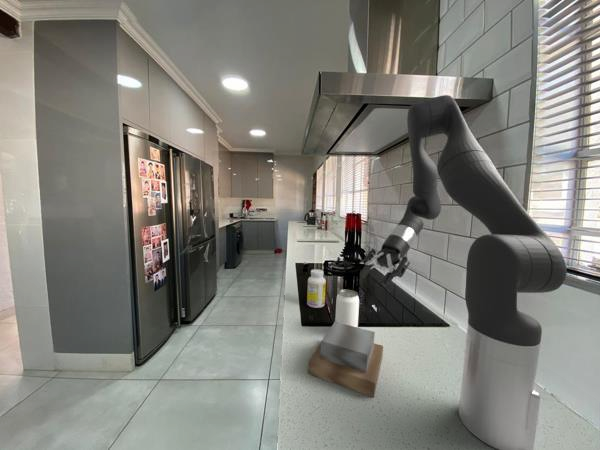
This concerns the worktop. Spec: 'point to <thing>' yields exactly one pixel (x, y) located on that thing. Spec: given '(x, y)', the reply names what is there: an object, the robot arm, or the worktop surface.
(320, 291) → the supplement bottle
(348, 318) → the can
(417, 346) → the worktop surface
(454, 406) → the worktop surface
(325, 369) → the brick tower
